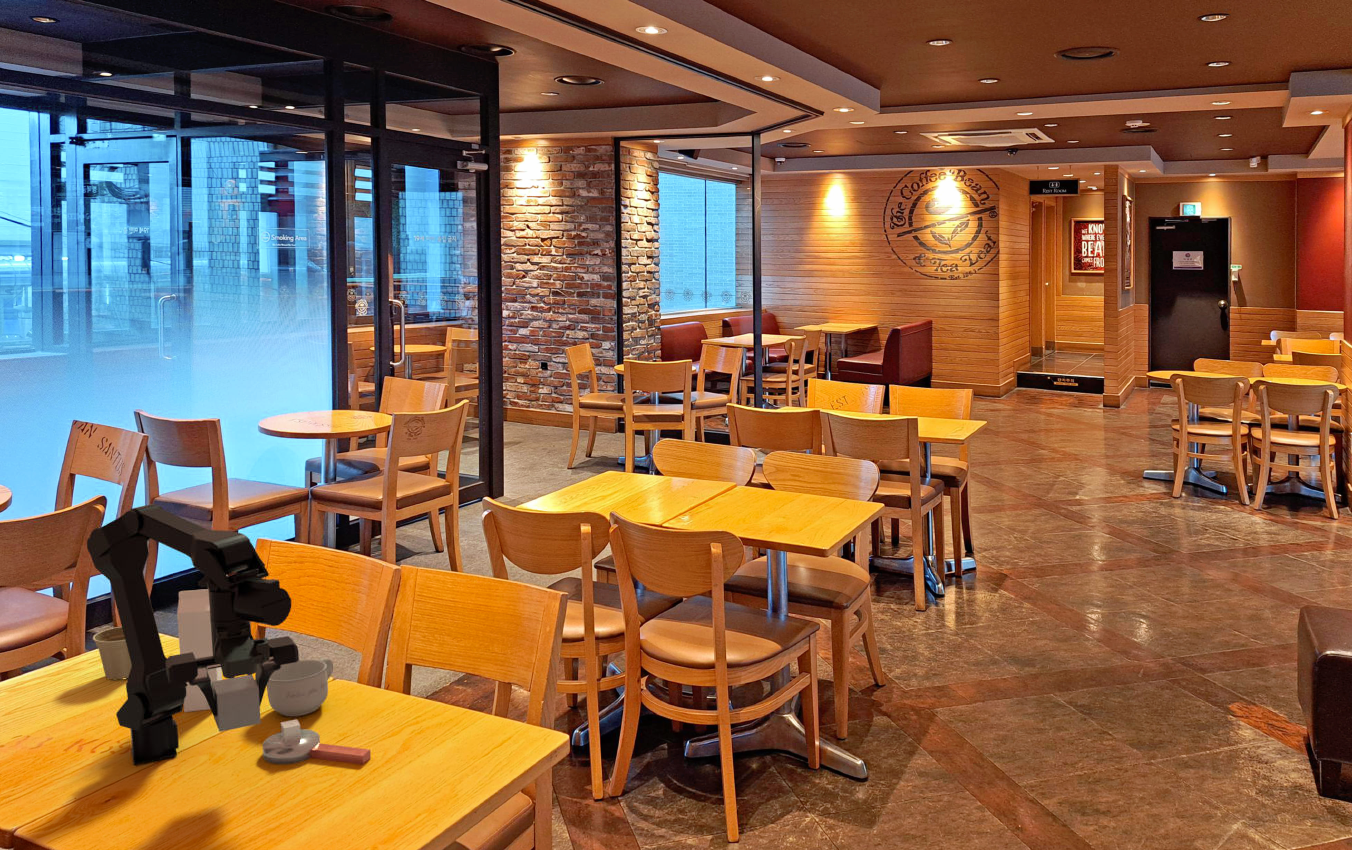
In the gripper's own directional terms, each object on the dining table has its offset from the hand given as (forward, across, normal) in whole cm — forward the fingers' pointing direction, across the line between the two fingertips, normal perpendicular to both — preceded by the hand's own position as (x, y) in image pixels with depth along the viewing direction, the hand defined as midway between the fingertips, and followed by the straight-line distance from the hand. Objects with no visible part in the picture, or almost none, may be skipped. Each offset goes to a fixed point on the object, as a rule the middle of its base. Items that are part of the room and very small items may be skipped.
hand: (236, 711), depth 168 cm
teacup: (+12, +15, +24) cm, 31 cm away
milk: (+12, -1, +35) cm, 37 cm away
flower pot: (+12, -13, +59) cm, 62 cm away
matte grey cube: (+2, 0, 0) cm, 2 cm away
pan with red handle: (+11, +12, +3) cm, 17 cm away
